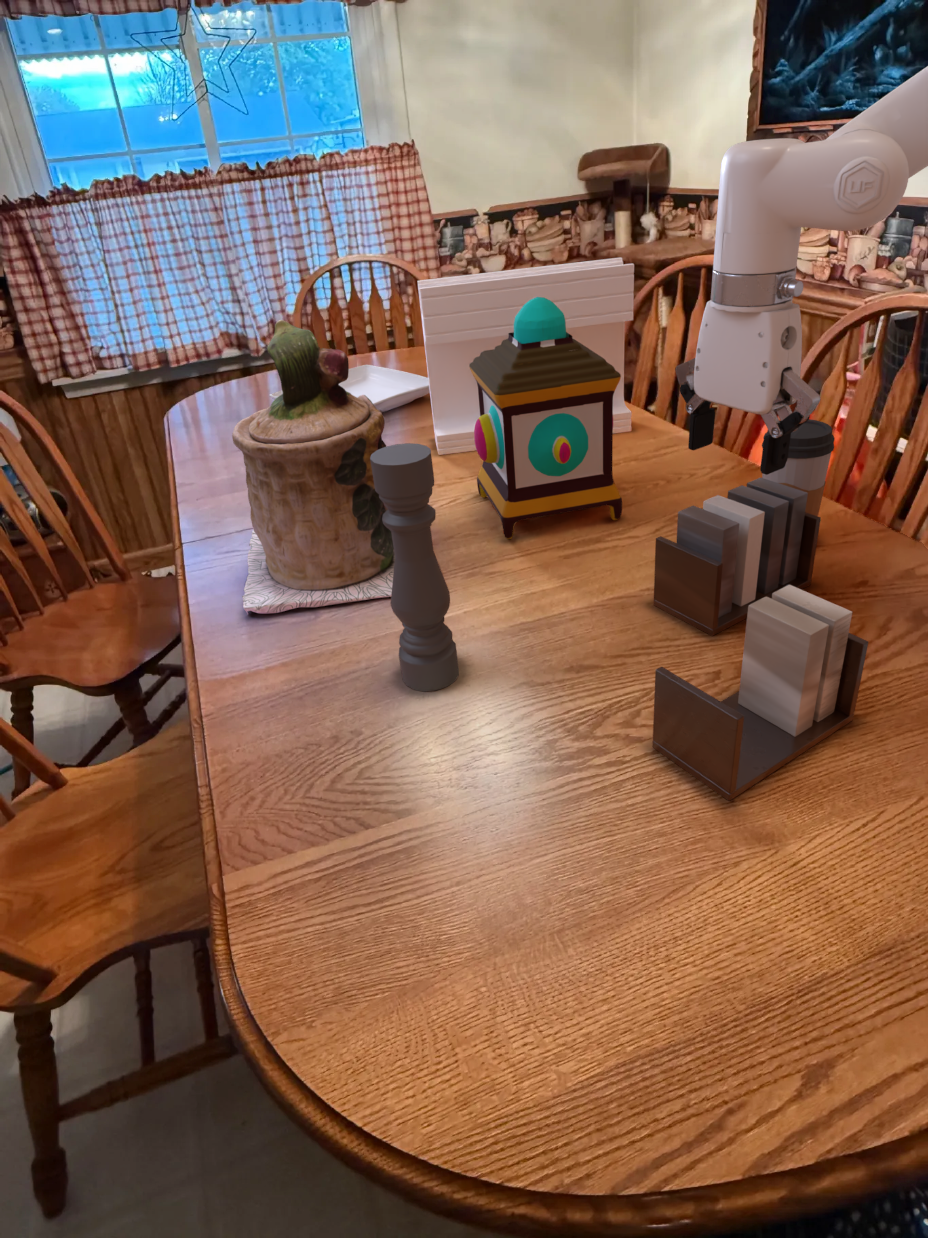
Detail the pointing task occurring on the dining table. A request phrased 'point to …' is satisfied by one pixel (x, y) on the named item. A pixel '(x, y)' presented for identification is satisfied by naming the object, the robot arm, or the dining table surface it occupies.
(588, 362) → the decorative lantern
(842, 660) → the dark brown rack
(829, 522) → the dining table surface
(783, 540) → the dark brown wooden holder
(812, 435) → the coffee cup
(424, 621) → the candle holder
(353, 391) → the square plate
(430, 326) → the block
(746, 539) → the white book
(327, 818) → the dining table surface
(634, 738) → the dining table surface
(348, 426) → the cookie jar
